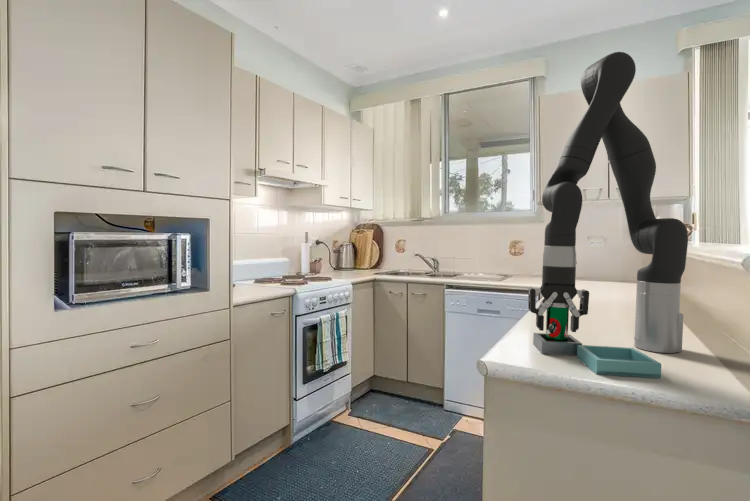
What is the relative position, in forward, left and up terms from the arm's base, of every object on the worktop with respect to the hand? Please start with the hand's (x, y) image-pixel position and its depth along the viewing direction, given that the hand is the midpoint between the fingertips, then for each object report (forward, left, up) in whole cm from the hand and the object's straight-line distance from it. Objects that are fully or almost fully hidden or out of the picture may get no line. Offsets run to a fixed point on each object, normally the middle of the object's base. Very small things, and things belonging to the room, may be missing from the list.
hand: (556, 330), depth 102 cm
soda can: (0, 0, -5) cm, 5 cm away
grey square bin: (0, 0, -5) cm, 5 cm away
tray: (-9, +12, -5) cm, 16 cm away
